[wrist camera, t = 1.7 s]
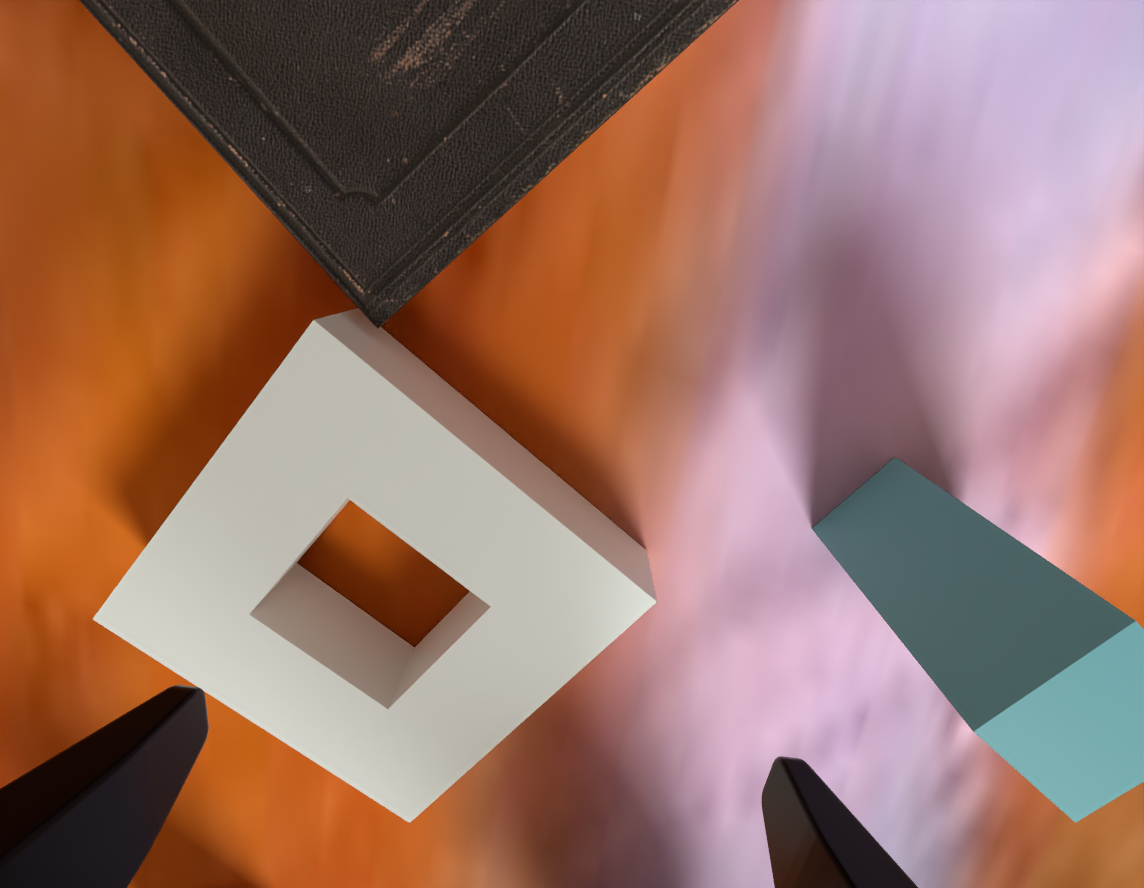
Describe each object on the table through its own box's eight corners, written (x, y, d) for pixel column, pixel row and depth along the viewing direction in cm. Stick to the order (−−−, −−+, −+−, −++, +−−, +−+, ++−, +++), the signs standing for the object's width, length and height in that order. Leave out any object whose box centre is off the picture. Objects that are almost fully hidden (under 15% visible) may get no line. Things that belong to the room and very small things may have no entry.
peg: (961, 523, 22) (1235, 725, 13) (877, 589, 23) (1075, 822, 14) (895, 456, 22) (1135, 621, 12) (811, 528, 23) (973, 731, 13)
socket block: (647, 550, 23) (656, 601, 20) (431, 751, 27) (409, 822, 23) (358, 307, 20) (313, 320, 17) (161, 567, 24) (92, 619, 21)
